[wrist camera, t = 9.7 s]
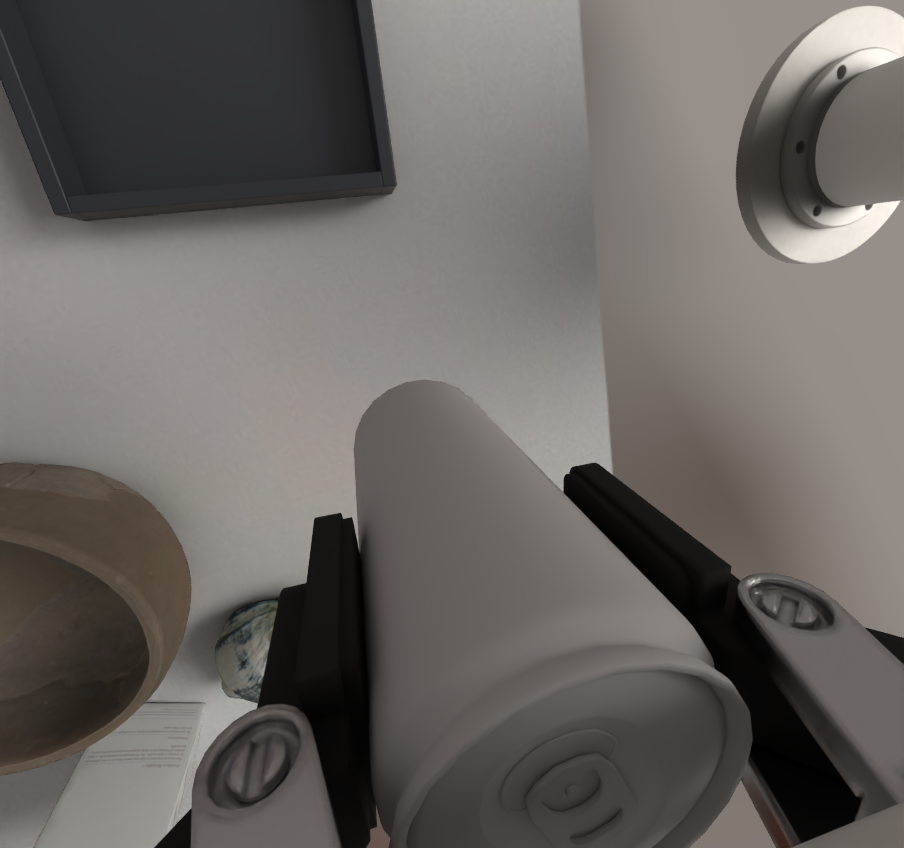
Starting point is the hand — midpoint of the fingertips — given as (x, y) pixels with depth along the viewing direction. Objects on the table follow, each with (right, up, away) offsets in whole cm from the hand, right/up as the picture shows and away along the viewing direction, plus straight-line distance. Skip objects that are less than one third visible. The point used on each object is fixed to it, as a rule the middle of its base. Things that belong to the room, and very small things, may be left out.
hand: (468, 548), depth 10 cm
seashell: (-14, -14, +27) cm, 33 cm away
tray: (-14, +22, +14) cm, 30 cm away
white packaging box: (-26, -24, +27) cm, 44 cm away
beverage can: (-2, +2, +6) cm, 7 cm away
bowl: (-27, -6, +21) cm, 34 cm away
